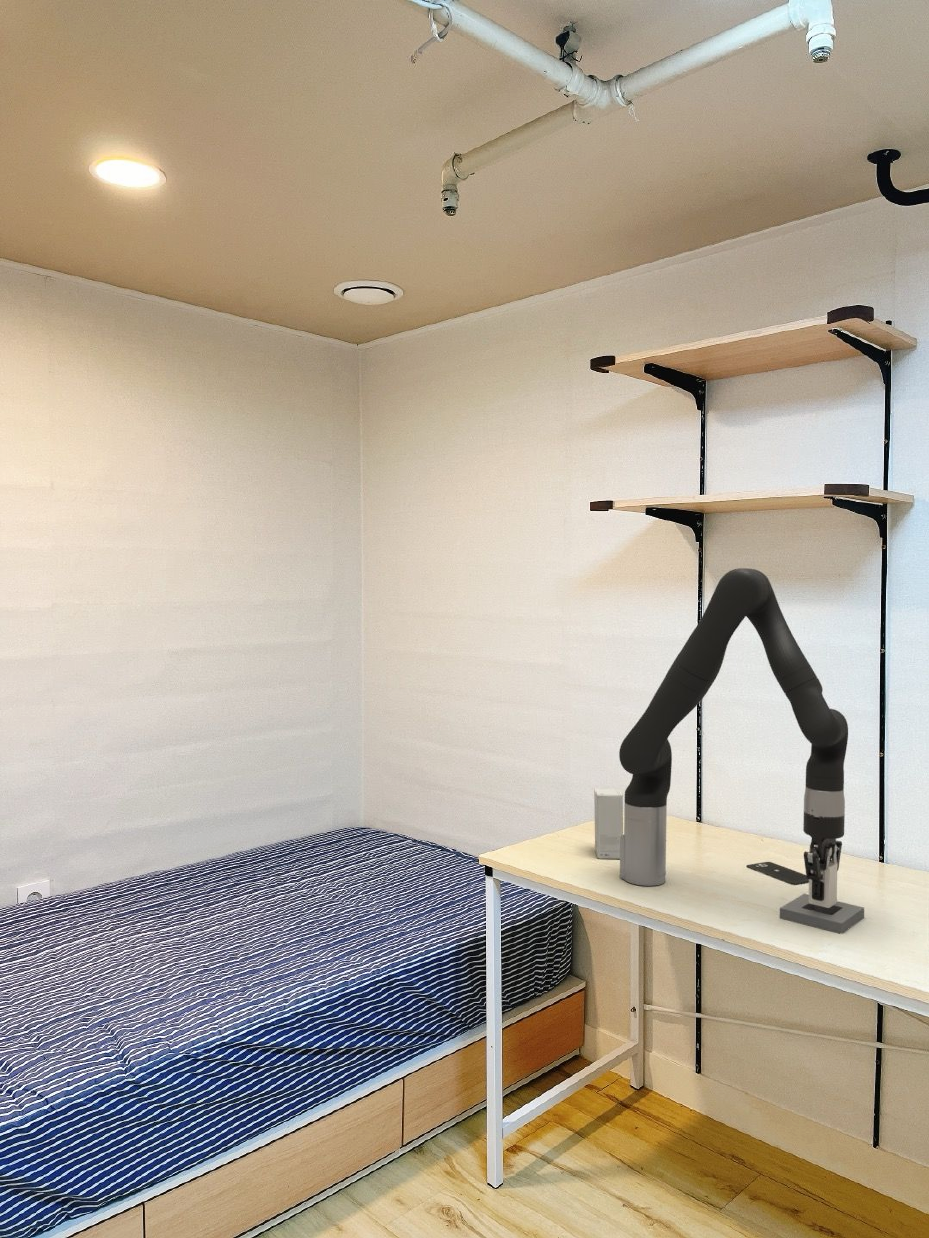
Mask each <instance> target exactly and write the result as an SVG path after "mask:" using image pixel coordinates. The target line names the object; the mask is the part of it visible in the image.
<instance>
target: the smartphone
mask: <svg viewBox="0 0 929 1238" xmlns="http://www.w3.org/2000/svg"><path fill="white" fill-rule="evenodd" d="M746 868H747V869H749V870H752V871H754V872H756V873H760V874H762V875H765V876H768V877H769V878H773V879H775V880H778V881H781V882H783V883H785V884H788V885H791V886H798V885H803V884H809V879H807V877H806V873H805V874H804V873H802V872H799V871H796V870H794V869H791V868H788V867H786V866H783V865H781V864H777V863H775V862H772V861H762V862H757V863H751V864H746Z"/></svg>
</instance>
